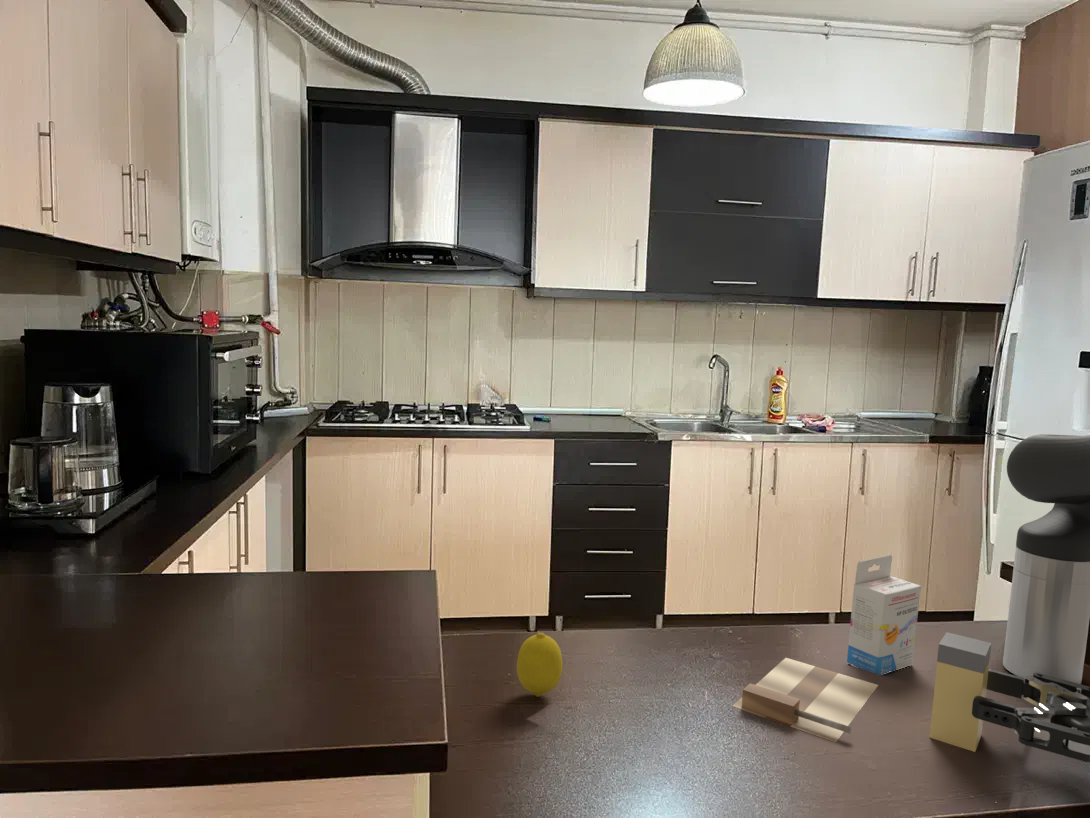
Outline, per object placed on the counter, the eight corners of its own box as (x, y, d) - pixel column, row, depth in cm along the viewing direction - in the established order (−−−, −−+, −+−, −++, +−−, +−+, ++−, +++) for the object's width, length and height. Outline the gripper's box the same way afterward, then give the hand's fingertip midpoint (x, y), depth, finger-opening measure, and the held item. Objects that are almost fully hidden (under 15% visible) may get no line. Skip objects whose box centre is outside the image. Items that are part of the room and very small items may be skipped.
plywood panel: (785, 666, 105) (785, 657, 105) (877, 693, 98) (878, 685, 98) (731, 715, 91) (732, 705, 91) (835, 752, 84) (836, 742, 84)
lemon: (567, 692, 95) (570, 629, 94) (549, 711, 90) (552, 646, 89) (527, 681, 97) (530, 621, 96) (507, 700, 92) (510, 636, 91)
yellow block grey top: (936, 731, 89) (946, 632, 88) (980, 745, 87) (991, 643, 85) (928, 747, 86) (938, 643, 84) (974, 762, 83) (985, 655, 82)
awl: (748, 700, 92) (750, 683, 92) (852, 735, 85) (854, 717, 85) (741, 707, 90) (742, 689, 90) (846, 743, 83) (848, 724, 83)
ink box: (878, 679, 102) (888, 571, 101) (845, 664, 107) (854, 561, 105) (914, 666, 107) (924, 563, 106) (881, 652, 111) (890, 553, 110)
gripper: (1169, 682, 80) (991, 639, 90) (1177, 736, 69) (972, 680, 78) (1159, 750, 81) (984, 700, 91) (1166, 815, 70) (964, 750, 79)
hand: (978, 691), depth 84 cm, fingers open, 8 cm apart
